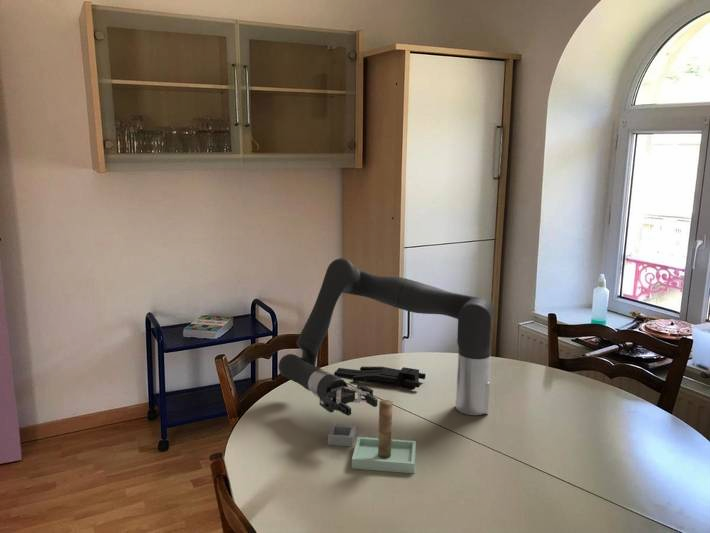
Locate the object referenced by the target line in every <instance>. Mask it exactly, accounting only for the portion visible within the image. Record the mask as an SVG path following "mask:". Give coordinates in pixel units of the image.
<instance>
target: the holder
mask: <svg viewBox="0 0 710 533" xmlns="http://www.w3.org/2000/svg"><path fill="white" fill-rule="evenodd" d="M356 427H357V426H356V425H344V424H343V425H342V424H332V425H331V427H330V430H329V432H328V435H327V445H329V446H338V447H353V446H354V442H355V439H356V435H357V432H356V431H357V430H356V429H357V428H356Z"/></svg>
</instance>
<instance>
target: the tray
mask: <svg viewBox="0 0 710 533" xmlns="http://www.w3.org/2000/svg"><path fill="white" fill-rule="evenodd" d="M416 449H417V440H406V439H404V440H403V439H395V438H394V439H393V438H391V457H389V458H386V459H384V458H380V457H379V456H378V438H377V437H367V436H365V437H364V436H363V437H362V436H357V438H356V442H355V446H354V449H353V454H352V458H351V469H355V470H368V471H370V470H371V471H380V472H393V473H402V474H403V473H406V474H415V466H416V453H417V450H416Z"/></svg>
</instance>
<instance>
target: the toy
mask: <svg viewBox="0 0 710 533" xmlns="http://www.w3.org/2000/svg"><path fill="white" fill-rule="evenodd" d="M333 375H335V376H337V377H339V378H346V379H352V381H353V383H354V382H364V381H365V382H366V381H380V382H386V383H393V384H397V383H398V386H397V387H399V388H406V389H413V390H415V389H416V388H420V387H421V381H419V380H425V379H426V373H423V372H420V369H418V368H417V369H416V368H410V367H404V366H402V368H401V369H397V368H391V367H385V366H360V368H359V369H355V368H352V369H351V368H344V367H343V368H342V367H338V368H337V369H336V370H335V371H334V372H333Z"/></svg>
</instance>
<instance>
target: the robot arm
mask: <svg viewBox="0 0 710 533" xmlns="http://www.w3.org/2000/svg"><path fill="white" fill-rule="evenodd" d="M342 293H343V294H347V295H353V296H359V297H363V298H364V297H365V298H368V299H371V300H375V301H378V302H380V303H381V304H382V303H383V304H385V305H388V306H391V307H393V308H396V309H400V310H403V311H406V312H411V313H415V314H423V315H440V316H441V315H443V316H446V317H447V316H448V317H450V318H453V319H456V320H457V339H456V342H457V348H458V350H457V351H458V352H457V353H458V354H457V371H456V373H457V374H456V376H457V377H456V391H455V395H456V396H455V409H456V410H457V411H458V412H459V413H461V414H464V415H466V416H481V415H488V414H489V404H490V386H491V385H490V384H491V383H490V371H491V370H490V369H491V354H492V347H491V330H492V329H491V328H492V323H493V320H494V318H495V316H496V315H495V313H496V311H495V308H494V306H493V305H492V303H491V302H490V301H488V300H487V299H485V298H483V297H478V296H473V295H468V294H462V293H456V292H452V291H449V290H445V289H442V288H438V287H435V286H433V285H430V284H426V283H422V282H419V281H416V280H412V279H409V278H406V277H398V276H382V275H381V276H380V275H375V274H372V273H369V272H366V271H364V270H361V269H359V268H357V267H356V266H355V264H353V263H352V262H351V261H350V260H349V259H347V258H342V257H340V258H336V259H334V260H332V262H330V264H329V265H328V267H327V269H326V271H325V275H324V277H323V280H322V284H321V287H320V290H319V292H318V295H317V298H316V300H315V303H314V305H313V308H312V310H311V312H310V314H309V316H308V318H307V320H306V322H305V324H304V326H303V328H302V330H301V332H300V334H299V335H298V338H297V340H296V346H297V347H298V348H299V349H300V350H301V357H300V356H298V355H296V354H294V353H287V354H285V355H283V356H282V357H281V358H280V360H279V361H278V370H279V373H280V374H281V376H283V377H284V378H286V379H288V380H290V381H292V382H294V383H297V384H298V385H299V386H301V387H303V388H304V389H306V390H307V391H309V392H310V393H312V394H313V395H314V396H315V397H317V398H319V406H320V407H322V408H323V409H325V410H326V411H327V412H328V413H331V414H332V413H334V412H335V411H336V412H340V413H342V414H343V415H346V416H351V415H352V407H351V406H350V405H348V404H349V403H356V404H360V403H361V402H362V403H366V404H368V405H370V406H371V407H374V408H375V407H377V406H378V398H377V397H375V396H374V390H373V389H371V388H370V387H367V386H365V385H363V384H361V383H358V384H356V385H357V386H356V387H352V386H349V385H348V384H347V382H346V381H345V380H344V379H342V377H339V376H335V375H334V373H331V372H330V371H327V370H324V369H322V368H320V367H318V366H316V362H317V358H318V352H319V349H320V348H321V346H322V343H323V341H324V339H325V337H326V335H327V333H328V331H329V328H330V324H331V321H332V317H333V314H334V310H335V307H336V306H337V305H336V304H337V303H338V300H339V298H340V296H341V295H342ZM356 394H357V398H356Z"/></svg>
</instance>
